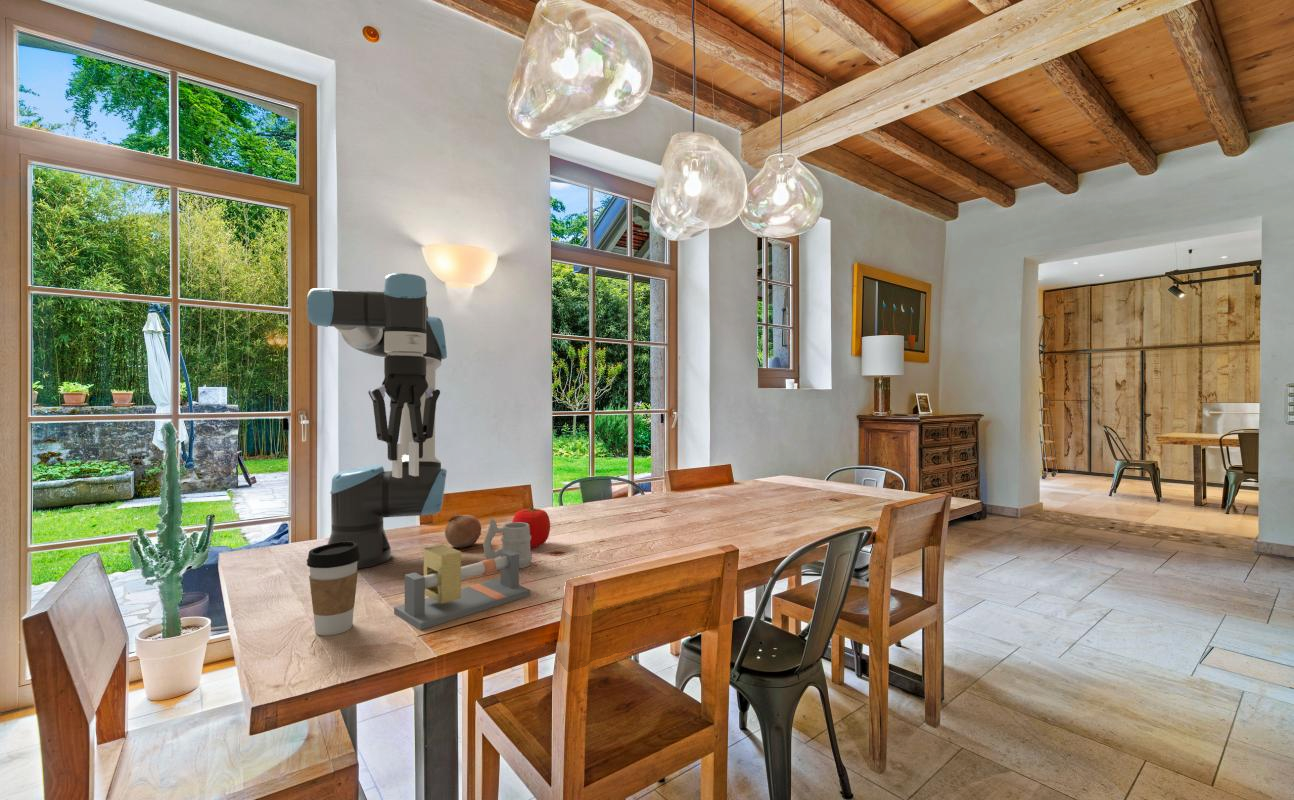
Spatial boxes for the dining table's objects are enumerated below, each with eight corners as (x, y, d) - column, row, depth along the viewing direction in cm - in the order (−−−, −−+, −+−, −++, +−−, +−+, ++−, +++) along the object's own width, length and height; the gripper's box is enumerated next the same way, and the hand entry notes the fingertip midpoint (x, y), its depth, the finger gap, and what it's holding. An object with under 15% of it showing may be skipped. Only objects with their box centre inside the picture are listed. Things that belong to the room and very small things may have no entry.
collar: (423, 594, 113) (423, 548, 112) (442, 589, 115) (442, 544, 115) (441, 603, 108) (441, 556, 107) (460, 598, 111) (461, 551, 110)
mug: (535, 567, 139) (535, 518, 139) (485, 573, 134) (485, 522, 134) (528, 558, 146) (528, 512, 146) (480, 564, 141) (481, 516, 141)
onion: (450, 560, 154) (432, 529, 151) (462, 541, 163) (446, 512, 160) (481, 549, 152) (464, 518, 150) (491, 531, 161) (475, 501, 159)
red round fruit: (512, 542, 161) (512, 504, 161) (549, 540, 163) (550, 503, 163) (510, 552, 151) (510, 512, 151) (550, 551, 153) (550, 511, 153)
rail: (394, 613, 110) (394, 571, 110) (501, 582, 128) (501, 546, 128) (420, 630, 103) (420, 585, 103) (530, 595, 120) (530, 556, 120)
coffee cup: (367, 628, 103) (367, 546, 103) (316, 643, 97) (316, 556, 97) (349, 615, 109) (349, 537, 109) (300, 629, 103) (299, 546, 102)
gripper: (371, 352, 102) (371, 483, 102) (452, 356, 113) (452, 474, 114) (355, 353, 107) (355, 478, 108) (434, 357, 119) (434, 470, 119)
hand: (405, 476), depth 111 cm, fingers open, 3 cm apart
